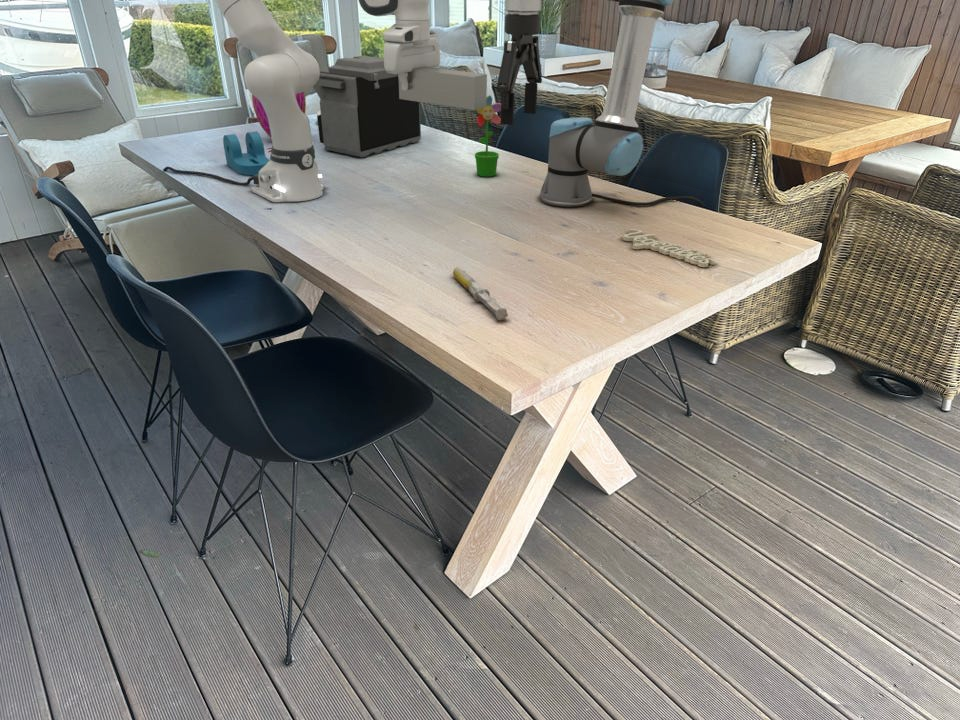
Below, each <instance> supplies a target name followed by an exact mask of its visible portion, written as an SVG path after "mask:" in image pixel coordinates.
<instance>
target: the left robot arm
mask: <svg viewBox="0 0 960 720" xmlns="http://www.w3.org/2000/svg"><path fill="white" fill-rule="evenodd" d="M214 1H215V3H216V5H217V8H218V9H219V11H220V12H221V14H222V16H223V17H224V19H225V20H226V22H227V24H228V25H229V27H230V29H231V30H232V32H233V34H234V36H235V37H236V38H237V41H239V43H240V44H241V45H242V46H243V47H244V48H246V49H247V50H250V51H251V52H253V53H254V54H255V55H256V56H257V58H255V59H253V60H252V61H250V62H249V63H248V64H247V65H246V67H245V69H244V74H243V79H244V83H245V86H246V88H247V90H248V91H249V92H250V94H251V96H252V95H254V96H255V97H256V98H257V99H258V100H259V101H260V102H261V104H262V106H263V108H264V110H265V112H266V115H267V118H268V121H269V126H270V132H271V137H270V138H271V143H272V147H268V148H267V150H268V151H267V153H270V157H269V160H270V161H269V162H268V163H267V164H266V165H265V166H264V167H263V168H262V169H261V170H260V171H259V174H257V175H252V176H250V177H248V178H247V181H246V182H239V181H236V180H233V179H230V178H225V177H222V176H220V175H216V174H213V173H207V172H202V171H194V170H180V169H176V168H173V167H171V166H165V167H164V168H163V170H162V171H163V172H167V171H168V170H169V171H171V172H173V173H176V174H186V175H197V176H204V177H208V178H209V177H210V178H212V179H217V180H219V181H222V182H226V183H230V184H233V185H237V186H243V187H245V186H249V185H250V184H251V182H252V181H253V184H254V186H252V187H251V192H252V193H253V194H256V195H258V196H260V197H262V198H264V199H266V200H268V201H271V202H273V203H283V202H305V201H311V200H314V199H317V198H320V197H322V196H323V194H324V191H323V190H324V189H325V186H324V184H322V181H321V179H322V178H323V175H322V174H321V173H320V172H319V167H318V163H317V162H316V161H315V159H316V154H315V153H316V151H315V147H314V145H313V142H312V141H313V140H312V132H311V122H310V118H309V116H308V115H307V114H306V112H305V113H303V112H302V111H301V110H300V108H299V105H298V103H297V100H296V94H297V93H301V92H307V91H308V90H310V89H311V88H313V86H314V85H315V84H316V83H317V82H318V80H319V76H320V71H321V70H320V66H319V63H318V61H317V60H316V58H315V57H314V55H312V54H311V53H309V52H307V51H305V50H304V49H302V48H301V47H300V46H298V45H297V44H296V42H294V40H293V39H292V38H291V37H290V36H289V35H288V34H287V33H286V32H285V31H284V30H283V29H282V28H281V26H279V24H278V22H277V21H276V20H275V18H274V16H273V15H272V14H271V12H270V10H269V9H268V7H267V5H266V4H265V2H264V1H263V0H214ZM358 3H359V6H360V7H361V9H362V10H363V11H364V12H365V13H367V14H368V15H370V16H373V17H385V16H394V17H395V18H394V19H395V23H394V24H392V25H391V26H390V27H389V28H387V29H385V30H384V31H383V33H382V39H383V41H384V42H385V43H384V45H383V58H384V67H385V70H386V72H387V73H390V74H398V77H399V79H400V81H401V83H402V90H409V89H410V83H408V81H407V78H406V77H407V76H408V72H411V71H412V69H415V68H421V67H433V68H439V67H440V64H441V51H440V49H441V48H440V43H439V42H440V41H439V39H438V35H437V33H436V31H435V30H434V29H431V28H430V27H431V25H430V21H431V20H430V19H431V18H430V14H429V4H430V0H358Z"/></svg>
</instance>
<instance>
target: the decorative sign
mask: <svg viewBox="0 0 960 720" xmlns="http://www.w3.org/2000/svg"><path fill="white" fill-rule="evenodd" d="M622 240H623V241H624V242H625V241H626V242H632V249H633V250H643V249H646V250H647V249H648V250H649V249H650V250H651V251H655V252H658V253H660V254H663V255H665V256H667V255H668V256H669V257H672V258H675V259H676V260H677V259H678V260H684V262H686V263H690V264H692V265H697V266H698V267H700V268H708V267H709V264H710V265H711V266H713V265H714V264H715V259H713V258H710V257H708V255H709V253H708V252H705V251H704V252H698V249H697V248H690V249H689V248H688V249H683V248H682V245H679V244H678V243H672V242H669V241H667V242H660V241H659V240H656V239H655V234H654V233H647V234H646V233H645V234H643V230H640V229H636V228H629V230H628V233H625V234H623V237H622Z"/></svg>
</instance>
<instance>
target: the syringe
mask: <svg viewBox="0 0 960 720" xmlns="http://www.w3.org/2000/svg"><path fill="white" fill-rule="evenodd" d="M452 274H453V277H454V279H455V280H457V281H458V282H459V283H460V285H462V287H464V289H466V290H467V291H468V293H470V295H471V296H472V298H473V300H474V302H477V303H478V302H480V303H482V304H483V305H484V306H485V307H486V308H487V309H488V310H489V311H490V312H491V313H492V314H493V315H494V316H495V317H496V320H497V321H503V320H504V319H506V318H507V317H509V314H508V310H507V308H506V307H502V306H501V305H500V303H498V302H497V301H496V300H494V299H493V298H492V297H491V296H490V295H491V293H490V290H488V289H486V288H483V287H482V286H481V285H480V284H479V283H478V282H477V281H476V280H474V278H473V277H471V275H469V274H468V273H467V272H466V270H465V269H464V268H463V267H462V266H456V267H454V268H453V271H452Z"/></svg>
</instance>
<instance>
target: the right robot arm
mask: <svg viewBox="0 0 960 720" xmlns="http://www.w3.org/2000/svg"><path fill="white" fill-rule="evenodd" d="M609 1H610V2H615V3H616V2H617V3H618V7H617V9H618V10H619V12H620V14H621V16H622V17H621V21H620V26H619V31H618V36H617V42H616V45H615V51H614V56H613V61H612V65H611V71H610V74H609V75H610V76H609V80H608V85H607V91H606V96H605V101H604V106H603V110H602V113H601V114H600V115H599V116H598V117H597V118H596V119H595V123H594V122H593V119H592V118H590V117H569V118H568V117H567V118H561V119H557V120H554V121H553V122H552V123H551V125H550V129H549V130H550V131H549V135H548V138H549V141H548V142H549V143H548V156H547V157H548V159H547V173H546V176H545V178H544V181H543V184H542V187H541V189H540V192H539V200H540V202H542V203H543V204H546V205H549V206H553V207H558V208H559V207H560V208H580V207H584V206H588V205H589V204H591V203H592V199H593V198H597V199H601V200H605V201H609V202H613V203H617V204H618V203H619V204H623V205H627V206H628V205H629V206H637V207H648V206H653V205H657V204H659V203H662V202H665V201H681V200H683V201H684V200H689V201H693V202H695V203H697V204H698V205H699V206H704V203H703V202H702V201H701V200H700V199H698V198H697V197H695V196H689V195H683V196H682V195H681V196H665V197H661V198H657V199H656V200H652V201H645V202H644V201H643V202H642V201H641V202H640V201H630V200H629V201H628V200H623V199H619V198H615V197H609V196H606V195H602V194H597V193H594V192H592V188H591V184H590V179H589V171H593V172H597V173H601V174H606V175H608V176H618V177H623V176H626V175H628V174H630V173H631V172H632V171H633V170H634V168H635V167H636V165H637V164H638V163H639V161H640V159H641V156H642V153H643V150H644V139H643V137H642V135H641V134H639V132H638V131H639V127H640V126H639V124H638V123H637V121H636V114H637V109H638V105H639V101H640V96H641V92H642V87H643V82H644V78H645V72H646V68H647V64H648V60H649V59H648V58H649V55H650V49H651V46H652V41H653V36H654V31H655V28H656V22H657V21H658V20H659V19H660V18H661V17H662V16H663V15H664V13H665V10H666V6H670V5H671V4H673V3H674V2H675V0H608V2H609ZM542 3H543V0H505V6H504V7H505V8H504V9H505V11H506V12H507V13H505V15H504V33H505V34H507V35H510V36H511V39H510V40H504V42H503V52H502V53H503V54H502V57H501V58H502V59H501V63H500V68H499V73H498V79H497V84H496V92H497V93H500V95H501V97H500V100H501V101H500V104H501V111H500V118H501V125H506V126H507V125H508V126H513V125H514V123H515V122H514V120H515V119H514V118H515V92H514V88H515V85H516V82H517V78H518V75H519V72H520V68H521V66H522V67H523V71H524V74H525V78H526V82H525V83H524V102H523V103H524V105H523V109H524V110H523V114H530V115H536V114H537V106H538V105H537V103H538V102H537V101H538V85H539V84H542V82H543V78H542V77H543V74H542V66H541V65H542V64H541V57H540V56H541V55H540V47H539V36H538V34H540V33H541V21H542V20H541V19H542V17H541V15H540V14H539V13H540V12H541V11H542V6H543V5H542ZM593 124H594V125H593Z"/></svg>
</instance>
